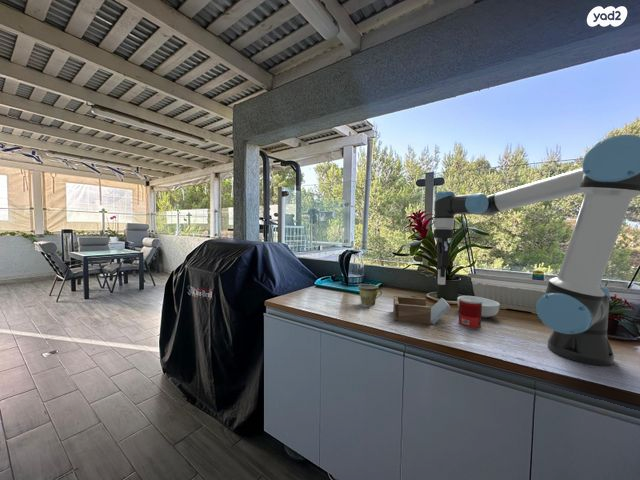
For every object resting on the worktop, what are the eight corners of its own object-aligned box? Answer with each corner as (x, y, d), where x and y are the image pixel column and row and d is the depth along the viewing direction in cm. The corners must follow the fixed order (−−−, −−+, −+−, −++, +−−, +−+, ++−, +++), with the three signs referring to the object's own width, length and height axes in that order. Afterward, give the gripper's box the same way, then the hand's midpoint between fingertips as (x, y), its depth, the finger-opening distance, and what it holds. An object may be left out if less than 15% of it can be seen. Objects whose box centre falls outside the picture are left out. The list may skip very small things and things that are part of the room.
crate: (433, 327, 105) (433, 307, 105) (394, 323, 108) (395, 304, 108) (427, 315, 119) (428, 298, 118) (393, 312, 122) (393, 295, 122)
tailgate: (451, 307, 104) (448, 305, 104) (433, 324, 106) (430, 322, 106) (444, 299, 115) (441, 297, 116) (428, 315, 117) (425, 313, 117)
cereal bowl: (482, 324, 109) (483, 307, 109) (448, 312, 125) (449, 297, 124) (507, 318, 116) (508, 303, 116) (472, 308, 132) (473, 294, 131)
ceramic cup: (354, 304, 133) (354, 285, 133) (366, 301, 140) (366, 283, 140) (375, 311, 124) (375, 290, 123) (386, 307, 130) (387, 287, 130)
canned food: (484, 330, 102) (485, 303, 102) (462, 328, 104) (463, 301, 103) (476, 323, 110) (477, 297, 109) (456, 321, 111) (457, 296, 111)
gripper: (431, 228, 116) (429, 280, 117) (437, 228, 103) (434, 287, 104) (449, 228, 114) (447, 281, 116) (457, 228, 102) (455, 288, 103)
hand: (441, 284), depth 110 cm, fingers closed
